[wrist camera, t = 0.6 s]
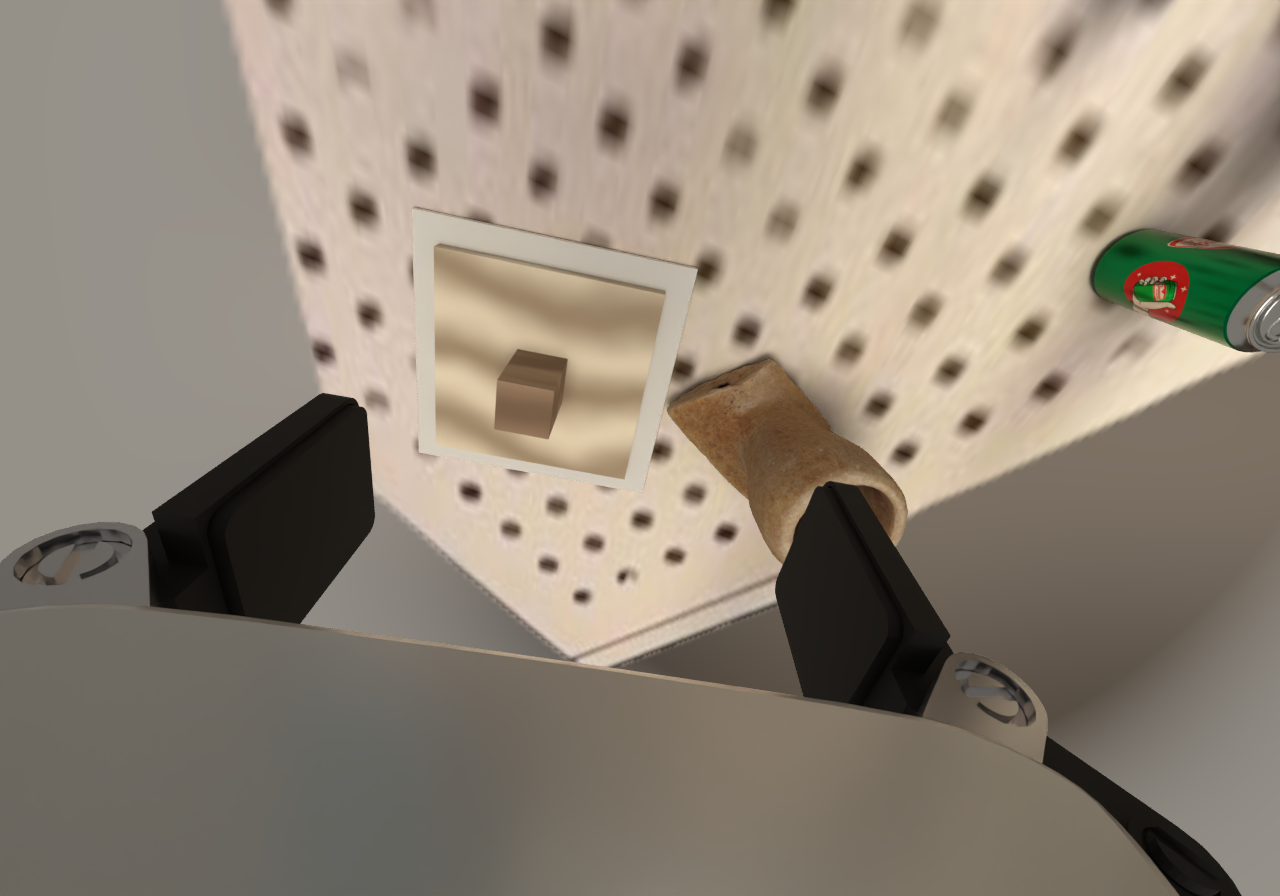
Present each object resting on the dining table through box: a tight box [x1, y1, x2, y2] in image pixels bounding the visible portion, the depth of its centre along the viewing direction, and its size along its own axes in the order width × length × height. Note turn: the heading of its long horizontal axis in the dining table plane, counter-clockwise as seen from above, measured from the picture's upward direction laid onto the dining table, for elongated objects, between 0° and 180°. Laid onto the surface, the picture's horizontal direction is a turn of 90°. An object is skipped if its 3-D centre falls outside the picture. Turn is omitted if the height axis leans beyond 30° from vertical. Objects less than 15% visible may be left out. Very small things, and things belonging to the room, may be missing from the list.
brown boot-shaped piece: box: [667, 359, 908, 564], centre depth 39 cm, size 15×12×15 cm
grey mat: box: [412, 207, 698, 493], centre depth 44 cm, size 21×21×1 cm
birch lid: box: [434, 243, 666, 479], centre depth 40 cm, size 17×17×7 cm
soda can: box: [1094, 229, 1280, 353], centre depth 33 cm, size 5×5×12 cm
